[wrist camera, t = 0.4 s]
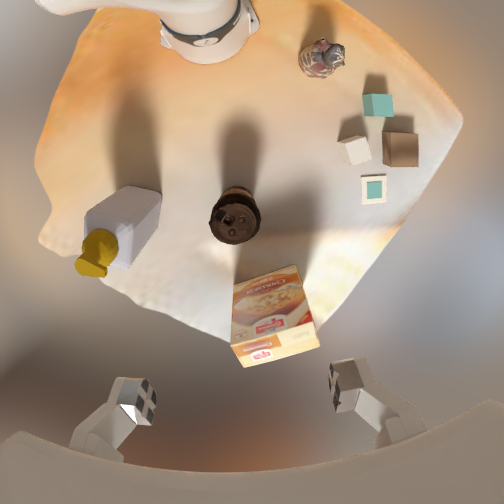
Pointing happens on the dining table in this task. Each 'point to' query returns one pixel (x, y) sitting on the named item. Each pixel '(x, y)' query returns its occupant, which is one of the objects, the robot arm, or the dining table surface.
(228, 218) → the coffee cup
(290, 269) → the coffeecake box
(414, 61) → the dining table surface
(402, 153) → the walnut base
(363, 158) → the cream cube
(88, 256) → the soap bottle
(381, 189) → the tile
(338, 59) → the figurine
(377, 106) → the teal cube
